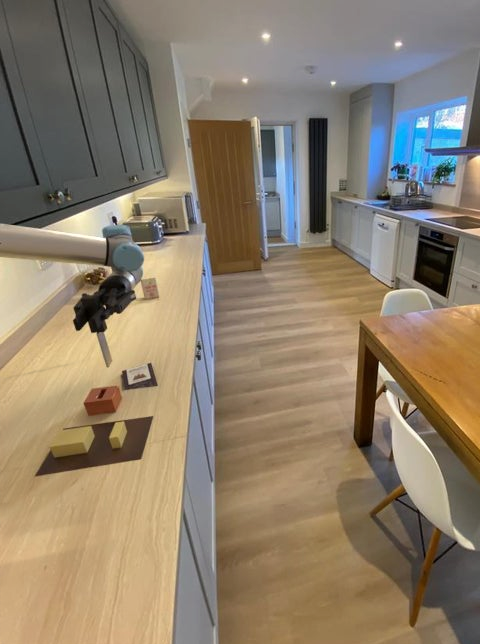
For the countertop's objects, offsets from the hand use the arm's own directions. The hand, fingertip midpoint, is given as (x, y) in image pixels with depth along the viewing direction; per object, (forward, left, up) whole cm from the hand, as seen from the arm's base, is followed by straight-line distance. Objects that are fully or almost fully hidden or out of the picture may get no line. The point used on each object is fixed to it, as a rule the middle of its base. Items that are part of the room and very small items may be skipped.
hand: (85, 324), depth 73 cm
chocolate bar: (-4, +17, -31) cm, 36 cm away
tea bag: (-37, +83, -31) cm, 96 cm away
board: (0, -7, -31) cm, 31 cm away
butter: (-5, -8, -29) cm, 31 cm away
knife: (-2, +5, -14) cm, 15 cm away
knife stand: (-7, +5, -31) cm, 32 cm away
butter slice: (+4, -5, -29) cm, 30 cm away
